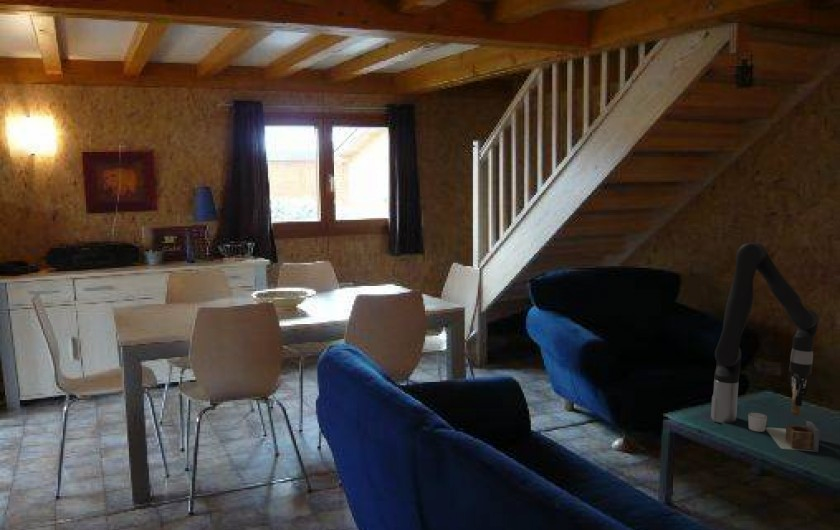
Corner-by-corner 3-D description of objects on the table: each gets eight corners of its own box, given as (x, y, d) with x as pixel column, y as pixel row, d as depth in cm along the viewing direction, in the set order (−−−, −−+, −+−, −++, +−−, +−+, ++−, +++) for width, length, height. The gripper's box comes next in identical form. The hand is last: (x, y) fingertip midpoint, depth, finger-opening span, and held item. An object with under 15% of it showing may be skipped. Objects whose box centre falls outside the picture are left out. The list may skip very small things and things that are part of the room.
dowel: (792, 415, 267) (795, 385, 265) (789, 412, 270) (792, 382, 269) (801, 415, 266) (804, 385, 265) (798, 413, 270) (801, 383, 268)
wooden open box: (791, 447, 254) (793, 432, 253) (785, 439, 262) (786, 424, 261) (812, 449, 252) (813, 433, 252) (805, 441, 260) (806, 426, 259)
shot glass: (765, 436, 269) (766, 419, 269) (745, 432, 273) (747, 415, 272) (766, 430, 275) (768, 414, 274) (748, 427, 279) (749, 410, 278)
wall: (813, 451, 252) (815, 430, 251) (804, 441, 261) (806, 420, 260) (818, 451, 251) (819, 430, 250) (809, 441, 261) (810, 421, 260)
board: (780, 451, 254) (780, 448, 254) (763, 429, 276) (764, 427, 276) (817, 454, 251) (818, 451, 251) (797, 432, 274) (798, 429, 273)
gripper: (818, 366, 258) (813, 411, 260) (806, 357, 271) (801, 399, 274) (796, 364, 259) (791, 408, 262) (785, 355, 273) (781, 397, 275)
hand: (796, 403), depth 268 cm, fingers closed on dowel, 3 cm apart
